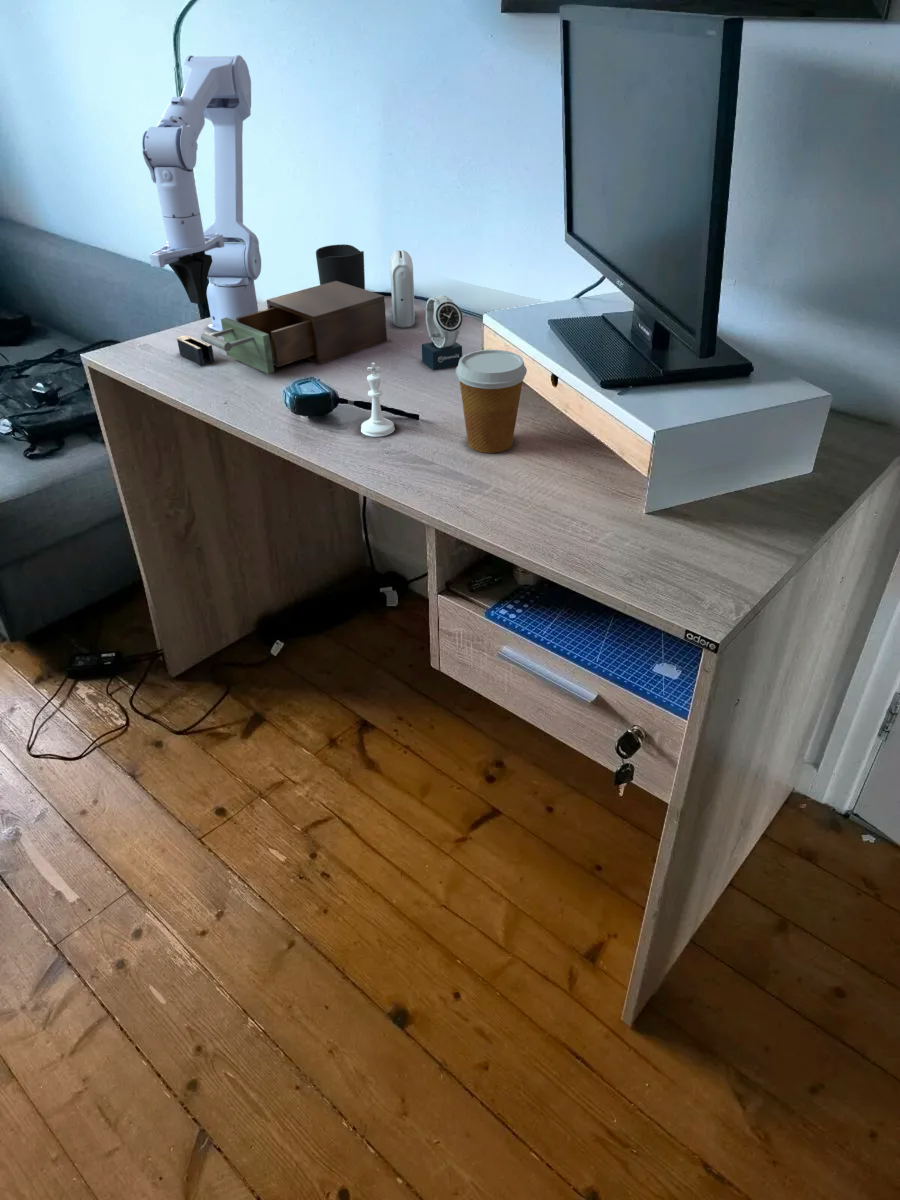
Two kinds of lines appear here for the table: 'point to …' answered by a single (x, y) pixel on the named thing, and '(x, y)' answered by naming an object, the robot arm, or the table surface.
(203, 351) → the tongs
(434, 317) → the watch
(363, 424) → the chess piece
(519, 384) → the disposable coffee cup
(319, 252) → the pen holder
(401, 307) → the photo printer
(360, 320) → the cabinet
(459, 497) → the table surface
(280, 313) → the drawer
